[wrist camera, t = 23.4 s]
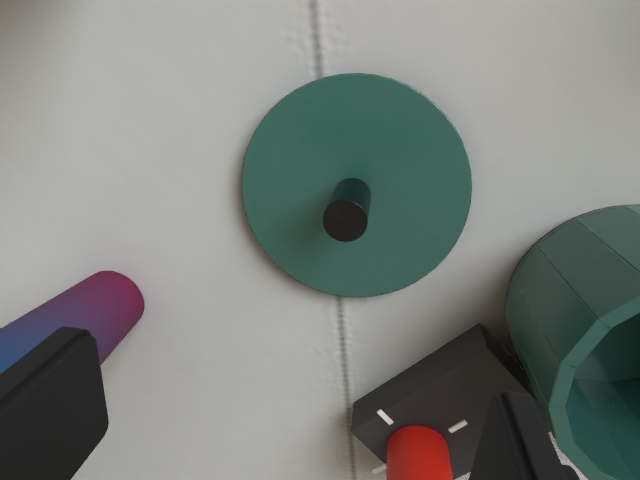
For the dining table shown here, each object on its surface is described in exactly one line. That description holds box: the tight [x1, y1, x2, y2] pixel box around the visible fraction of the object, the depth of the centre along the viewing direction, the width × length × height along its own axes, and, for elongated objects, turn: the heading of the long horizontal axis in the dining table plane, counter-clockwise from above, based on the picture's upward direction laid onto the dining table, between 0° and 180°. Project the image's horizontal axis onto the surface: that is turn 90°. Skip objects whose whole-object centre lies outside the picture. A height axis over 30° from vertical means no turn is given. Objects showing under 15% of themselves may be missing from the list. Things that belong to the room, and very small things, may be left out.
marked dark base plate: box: [351, 324, 551, 480], centre depth 33 cm, size 13×9×3 cm, turn 133°
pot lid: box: [242, 73, 472, 297], centre depth 26 cm, size 15×15×6 cm
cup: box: [0, 271, 144, 374], centre depth 28 cm, size 7×7×15 cm
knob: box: [387, 425, 453, 480], centre depth 30 cm, size 4×4×5 cm
